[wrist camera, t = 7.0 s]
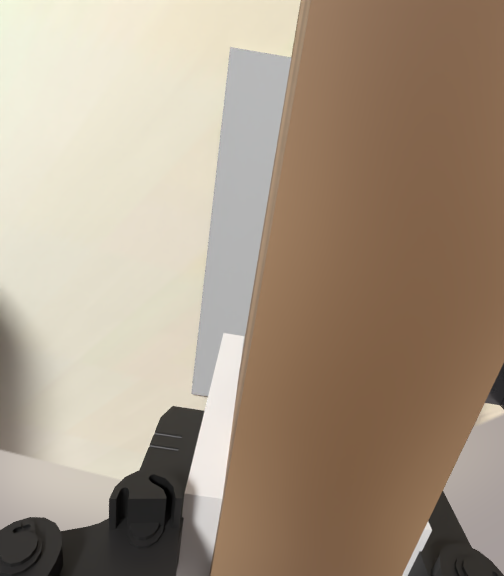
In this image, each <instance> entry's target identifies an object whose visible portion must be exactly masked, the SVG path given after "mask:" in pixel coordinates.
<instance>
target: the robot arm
mask: <svg viewBox="0 0 504 576" xmlns="http://www.w3.org/2000/svg"><path fill="white" fill-rule="evenodd" d="M243 341H244V336H240V335H233V334H227V333H223V337H222V341H221V345H220V350H219V354H218V358H217V362H216V366H215V370H214V374H213V378H212V382H211V387H210V391H209V395H208V399H207V403H206V407H205V411H202V410H195V409H189V408H182V407H176V406H172V407H171V408H170V409H169V410H168V411H167V412H166V413H165V414H164V415H163V416H162V417H161V418H160V420H159V423H158V425H157V428H156V430H155V434H154V435H153V438H152V440H151V443H150V447H149V448H148V451H147V453H146V456H145V458H144V461H143V463H142V466H141V468H140V471H137V472H135V473H133V474H131V475H129V476H127V477H125V478H124V479H123V480H122V481H121V482H120V483H119V484H118V485H117V486H116V487H115V488H114V490H113V492H112V494H111V497H110V499H109V519H107V520H105V521H103V522H101V523H99V524H95V525H92V526H88V527H83V528H77V529H72V530H67V531H60V530H59V528H58V526H57V525H56V523H54V522H52V521H50V520H48V519H46V518H37V517H36V518H35V517H32V518H31V517H30V518H26V519H23V520H19V521H16V522H13V523H12V524H10V525H8V526H7V527H5V528H3V529H2V530H0V576H209V574H210V568H211V562H212V556H213V551H214V545H215V539H216V533H217V527H218V522H219V516H220V510H221V504H222V498H223V491H224V483H225V476H226V468H227V460H228V453H229V445H230V438H231V430H232V422H233V415H234V407H235V400H236V392H237V384H238V377H239V370H240V364H241V356H242V349H243ZM402 576H504V575H503V574H502V573H501V571H500V570H499V569H498V568H497V567H496V566H495V565H494V564H493V562H492V561H490V560H489V559H488V558H487V557H485V556H484V555H483V554H481V553H480V552H479V551H477V550H475V549H473V548H472V547H471V545H470V543H469V542H468V539H467V537H466V535H465V533H464V531H463V529H462V527H461V525H460V524H459V522H458V520H457V518H456V516H455V514H454V512H453V510H452V508H451V506H450V504H449V502H448V500H447V498H446V496H445V494H444V492H443V491H442V493H441V495H440V497H439V499H438V501H437V503H436V506H435V508H434V510H433V512H432V514H431V516H430V518H429V520H428V522H427V524H426V527H425V529H424V531H423V533H422V535H421V537H420V539H419V541H418V543H417V545H416V547H415V550H414V552H413V554H412V556H411V558H410V560H409V562H408V564H407V566H406V568H405V570H404V573H403V575H402Z"/></svg>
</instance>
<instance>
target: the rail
mask: <svg viewBox="0 0 504 576" xmlns="http://www.w3.org/2000/svg"><path fill="white" fill-rule="evenodd" d="M503 363H504V0H301V3H300V9H299V15H298V21H297V27H296V33H295V39H294V45H293V51H292V57H291V63H290V69H289V75H288V81H287V87H286V93H285V99H284V105H283V111H282V117H281V123H280V129H279V135H278V141H277V147H276V153H275V159H274V165H273V171H272V177H271V183H270V189H269V195H268V201H267V207H266V213H265V219H264V225H263V231H262V237H261V243H260V249H259V255H258V261H257V267H256V273H255V279H254V285H253V291H252V297H251V303H250V310H249V316H248V322H247V328H246V334H245V340H244V346H243V352H242V358H241V364H240V370H239V377H238V384H237V392H236V400H235V407H234V415H233V422H232V430H231V438H230V445H229V453H228V460H227V468H226V476H225V483H224V491H223V498H222V504H221V510H220V516H219V522H218V527H217V533H216V539H215V545H214V551H213V556H212V562H211V568H210V574H209V576H402V575H403V573H404V570H405V568H406V566H407V564H408V562H409V560H410V558H411V556H412V554H413V552H414V550H415V547H416V545H417V543H418V541H419V539H420V537H421V535H422V533H423V531H424V529H425V527H426V524H427V522H428V520H429V518H430V516H431V514H432V512H433V510H434V508H435V506H436V503H437V501H438V499H439V497H440V495H441V493H442V491H443V489H444V487H445V485H446V482H447V480H448V478H449V476H450V474H451V472H452V470H453V468H454V466H455V464H456V462H457V459H458V457H459V455H460V453H461V451H462V449H463V447H464V445H465V443H466V440H467V439H468V436H469V434H470V432H471V430H472V428H473V426H474V424H475V422H476V420H477V418H478V416H479V413H480V411H481V409H482V407H483V405H484V403H485V401H486V399H487V397H488V395H489V393H490V390H491V388H492V386H493V384H494V382H495V380H496V378H497V376H498V374H499V372H500V370H501V367H502V365H503Z"/></svg>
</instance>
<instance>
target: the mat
mask: <svg viewBox="0 0 504 576" xmlns="http://www.w3.org/2000/svg"><path fill="white" fill-rule="evenodd" d="M290 63H291V57H285V56H279V55H273V54H267V53H261V52H256V51H250V50H244V49H238V48H232V47H230V55H229V64H228V73H227V82H226V91H225V100H224V109H223V117H222V126H221V135H220V144H219V153H218V162H217V171H216V180H215V189H214V198H213V207H212V216H211V225H210V233H209V242H208V251H207V260H206V269H205V278H204V287H203V296H202V305H201V314H200V323H199V332H198V340H197V349H196V358H195V367H194V376H193V385H192V394H196V395H202V396H208V395H209V391H210V387H211V382H212V378H213V374H214V370H215V366H216V362H217V358H218V354H219V350H220V345H221V341H222V337H223V333H227V334H233V335H240V336H244V340H245V334H246V328H247V322H248V316H249V310H250V303H251V297H252V291H253V285H254V279H255V273H256V267H257V261H258V255H259V249H260V243H261V237H262V231H263V225H264V219H265V213H266V207H267V201H268V195H269V189H270V183H271V177H272V171H273V165H274V159H275V153H276V147H277V141H278V135H279V129H280V123H281V117H282V111H283V105H284V99H285V93H286V87H287V81H288V75H289V69H290ZM243 346H244V341H243ZM242 352H243V349H242ZM241 358H242V356H241Z"/></svg>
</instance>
